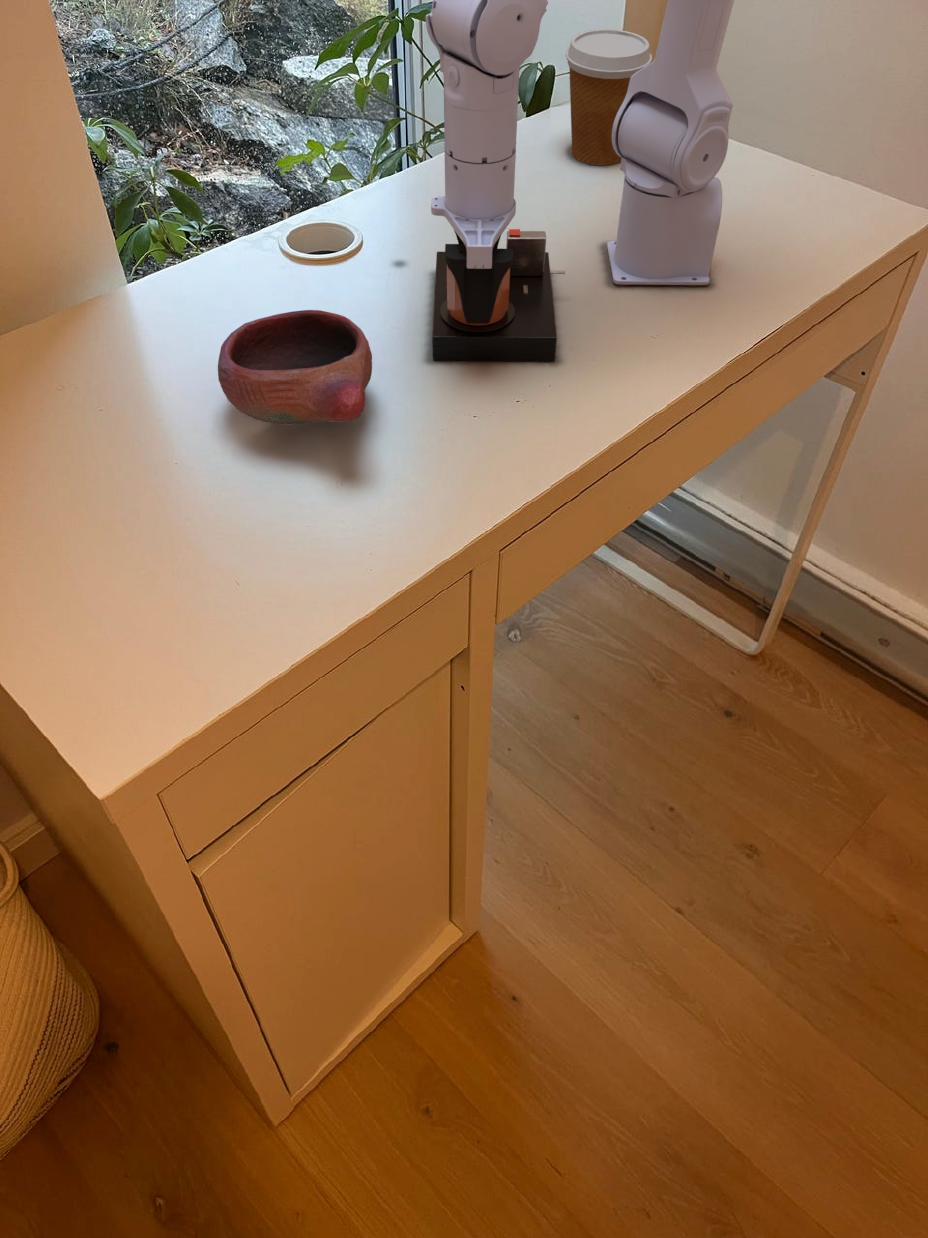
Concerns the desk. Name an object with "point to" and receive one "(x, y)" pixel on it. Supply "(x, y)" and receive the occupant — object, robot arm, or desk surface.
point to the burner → (473, 328)
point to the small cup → (456, 305)
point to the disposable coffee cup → (601, 88)
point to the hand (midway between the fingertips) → (477, 302)
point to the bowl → (296, 368)
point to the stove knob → (527, 252)
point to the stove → (516, 341)
